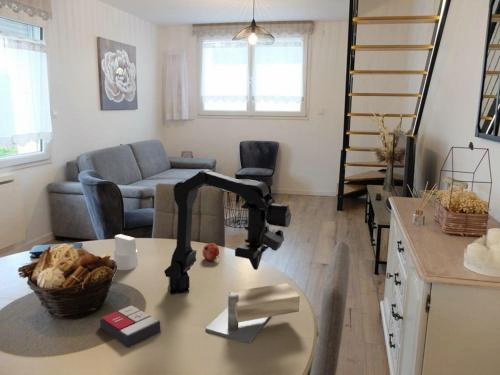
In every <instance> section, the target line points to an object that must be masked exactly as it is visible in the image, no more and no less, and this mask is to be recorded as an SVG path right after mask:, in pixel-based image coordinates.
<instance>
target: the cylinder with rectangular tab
mask: <svg viewBox="0 0 500 375" xmlns="http://www.w3.org/2000/svg"><path fill="white" fill-rule="evenodd" d="M136 242H137V241H136V238H135V237H132V236H128V235H127V234H126V235H124V234H121V233H120V234H116V235H114V248H115V250H114V251H113V260H114V261H116V262H117V264H118V269H117V270H118V271H130V270H133V269H136V268H137V267H138V266H139V257H138V256H139V255H138V249H137V245H136V244H137V243H136Z"/></svg>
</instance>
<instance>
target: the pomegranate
mask: <svg viewBox="0 0 500 375" xmlns="http://www.w3.org/2000/svg"><path fill="white" fill-rule="evenodd" d="M202 257H204V259H206V260H208V262H209V261H211V262H213V261H215V260H216V259H217V258H220V248H219V247H218V245H217V244H216V243H214V242H208V243H207V244H205V245H204V247H203V248H202Z"/></svg>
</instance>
